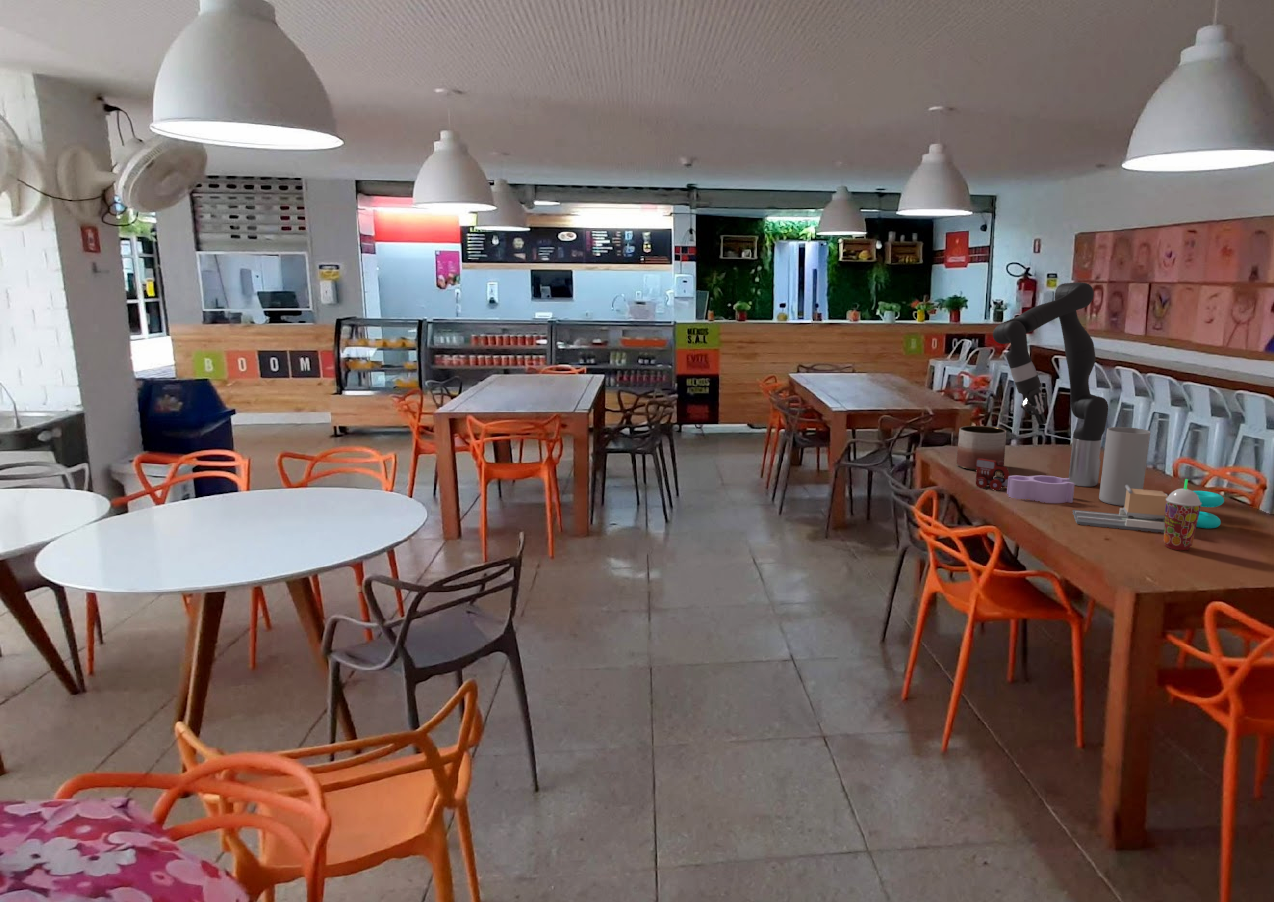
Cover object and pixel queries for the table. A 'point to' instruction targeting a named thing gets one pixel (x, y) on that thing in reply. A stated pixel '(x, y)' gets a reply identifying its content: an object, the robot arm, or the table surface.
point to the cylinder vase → (1123, 463)
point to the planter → (980, 445)
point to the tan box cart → (1145, 503)
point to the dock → (1118, 521)
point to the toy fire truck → (991, 474)
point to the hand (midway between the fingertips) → (1042, 423)
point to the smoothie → (1181, 518)
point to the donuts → (1208, 501)
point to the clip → (1041, 488)
